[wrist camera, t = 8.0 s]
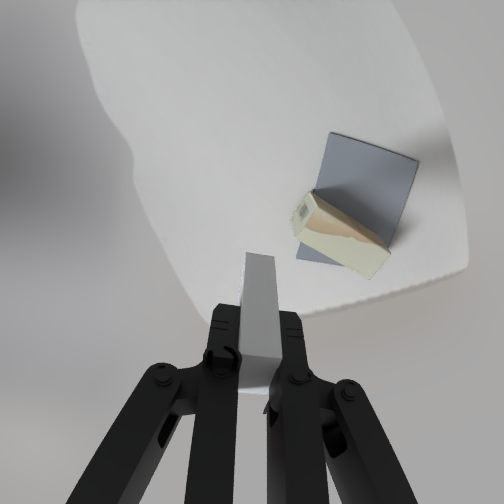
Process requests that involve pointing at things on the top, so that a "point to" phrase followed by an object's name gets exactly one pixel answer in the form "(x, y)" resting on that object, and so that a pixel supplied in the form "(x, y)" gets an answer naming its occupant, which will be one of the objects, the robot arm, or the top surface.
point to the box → (338, 236)
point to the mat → (362, 187)
